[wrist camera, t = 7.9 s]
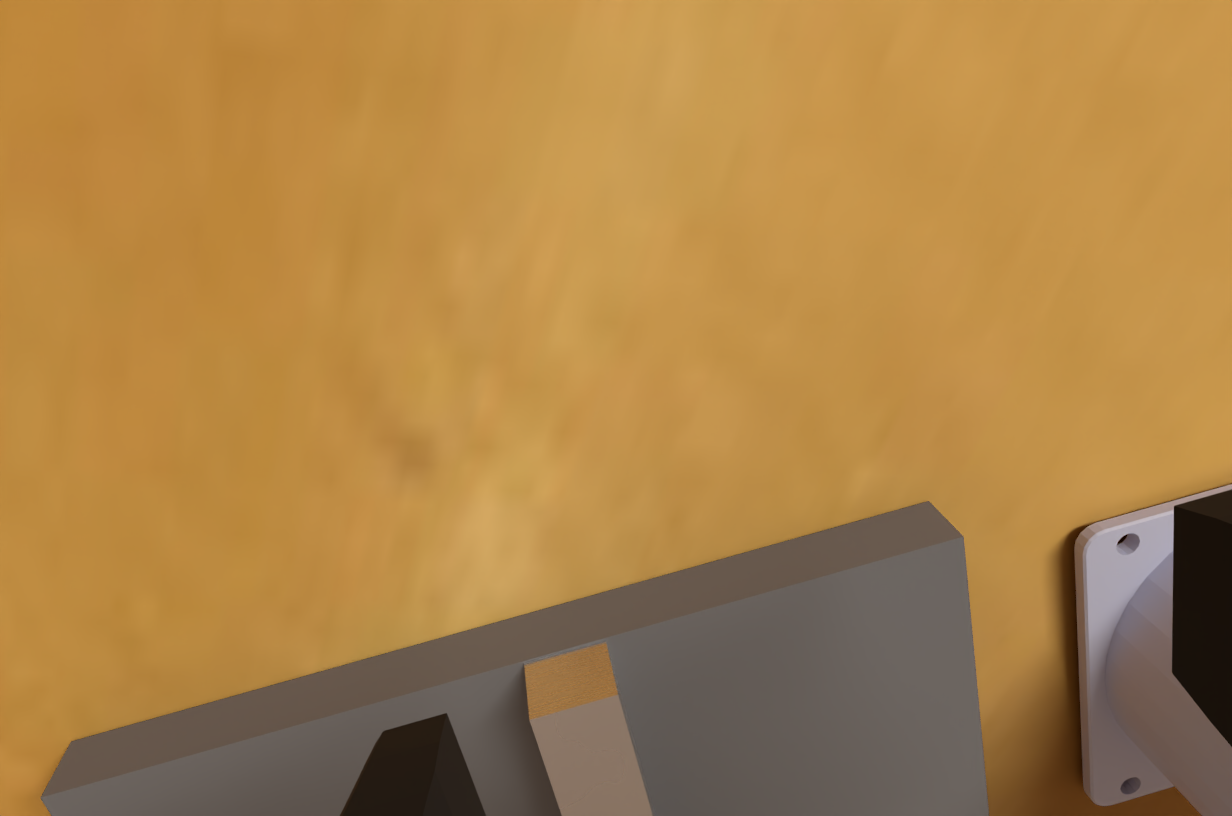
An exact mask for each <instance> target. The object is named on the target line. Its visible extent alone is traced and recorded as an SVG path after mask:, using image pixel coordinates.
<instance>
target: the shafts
mask: <svg viewBox="0 0 1232 816" xmlns="http://www.w3.org/2000/svg"><path fill="white" fill-rule="evenodd" d="M524 667H525V678H526V689H527V699H528V710H529V720H530V723H531V726H532V729H533V732H534V735H535V738H536V741H537V744H538V747H539V750H540V753H541V756H542V759H543V762H544V765H545V767H546V770H547V773H548V776H549V779H550V782H551V785H552V788H553V791H554V794H555V797H556V800H557V803H558V806H559V809H560V812H561V815H562V816H655V812H654V809H653V805H652V802H651V798H650V795H649V791H648V788H647V784H646V781H645V777H644V774H643V770H642V767H641V763H640V760H639V756H638V753H637V749H636V745H635V742H634V738H633V735H632V731H631V728H630V724H629V721H628V717H627V714H626V710H625V707H624V703H623V700H622V696H621V693H620V689H619V686H618V682H617V679H616V675H615V672H614V668H613V665H612V661H611V657H610V654H609V650H608V647H607V643H606V640H604V641H601V642H597V643H594V644H590V645H587V646H583V647H580V648H576V649H573V650H569V651H566V652H562V653H559V654H555V655H551V656H548V657H544V658H541V659H537V660H534V661H530V662H527V663H524Z"/></svg>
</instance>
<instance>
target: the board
mask: <svg viewBox="0 0 1232 816" xmlns="http://www.w3.org/2000/svg"><path fill="white" fill-rule="evenodd" d="M604 640H606V643H607V647H608V650H609V654H610V657H611V661H612V665H613V668H614V672H615V675H616V679H617V682H618V686H619V689H620V693H621V696H622V700H623V703H624V707H625V710H626V714H627V717H628V721H629V724H630V728H631V731H632V735H633V738H634V742H635V745H636V749H637V753H638V756H639V760H640V763H641V767H642V770H643V774H644V777H645V781H646V784H647V788H648V791H649V795H650V798H651V802H652V805H653V809H654V812H655V816H989V808H988V798H987V787H986V776H985V765H984V754H983V743H982V732H981V722H980V711H979V700H978V689H977V678H976V667H975V656H974V646H973V635H972V624H971V613H970V602H969V591H968V580H967V570H966V559H965V548H964V537H963V536H962V535H961V534H960V533H959V532H958V531H957V530H956V529H955V527H954V526H953V525H952V524H951V523H950V522H949V521H948V520H947V519H946V518H945V517H944V516H943V515H942V514H941V513H940V512H939V511H938V510H937V509H936V508H935V507H934V506H933V505H932V504H931V503H930V502H929V501H927V502H924V503H920V504H917V505H913V506H909V507H906V508H902V509H899V510H895V511H892V512H888V513H884V514H881V515H877V516H874V517H870V518H867V519H863V520H860V521H856V522H852V523H849V524H845V525H842V526H838V527H835V528H831V529H827V530H824V531H820V532H817V533H813V534H810V535H806V536H802V537H799V538H795V539H792V540H788V541H785V542H781V543H778V544H774V545H770V546H767V547H763V548H760V549H756V550H753V551H749V552H745V553H742V554H738V555H735V556H731V557H728V558H724V559H720V560H717V561H713V562H710V563H706V564H703V565H699V566H696V567H692V568H688V569H685V570H681V571H678V572H674V573H671V574H667V575H663V576H660V577H656V578H653V579H649V580H646V581H642V582H638V583H635V584H631V585H628V586H624V587H621V588H617V589H614V590H610V591H606V592H603V593H599V594H596V595H592V596H589V597H585V598H581V599H578V600H574V601H571V602H567V603H564V604H560V605H556V606H553V607H549V608H546V609H542V610H539V611H535V612H532V613H528V614H524V615H521V616H517V617H514V618H510V619H507V620H503V621H499V622H496V623H492V624H489V625H485V626H482V627H478V628H474V629H471V630H467V631H464V632H460V633H457V634H453V635H449V636H446V637H442V638H439V639H435V640H432V641H428V642H425V643H421V644H417V645H414V646H410V647H407V648H403V649H400V650H396V651H392V652H389V653H385V654H382V655H378V656H375V657H371V658H367V659H364V660H360V661H357V662H353V663H350V664H346V665H343V666H339V667H335V668H332V669H328V670H325V671H321V672H318V673H314V674H310V675H307V676H303V677H300V678H296V679H293V680H289V681H285V682H282V683H278V684H275V685H271V686H268V687H264V688H261V689H257V690H253V691H250V692H246V693H243V694H239V695H236V696H232V697H228V698H225V699H221V700H218V701H214V702H211V703H207V704H203V705H200V706H196V707H193V708H189V709H186V710H182V711H179V712H175V713H171V714H168V715H164V716H161V717H157V718H154V719H150V720H146V721H143V722H139V723H136V724H132V725H129V726H125V727H121V728H118V729H114V730H111V731H107V732H104V733H100V734H97V735H93V736H89V737H86V738H82V739H79V740H75V741H72V742H71V743H70V745H69V747H68V748H67V750H66V752H65V754H64V756H63V757H62V759H61V761H60V763H59V765H58V767H57V768H56V770H55V772H54V774H53V776H52V778H51V779H50V781H49V783H48V785H47V787H46V788H45V790H44V792H43V794H42V796H41V800H42V801H43V803H44V804H45V806H46V808H47V809H48V811H49V812H50V814H51V815H52V816H340V814H341V812H342V810H343V808H344V806H345V804H346V802H347V800H348V798H349V796H350V794H351V792H352V790H353V788H354V786H355V784H356V782H357V780H358V777H359V775H360V773H361V771H362V769H363V767H364V765H365V763H366V761H367V759H368V757H369V755H370V753H371V751H372V749H373V747H374V745H375V743H376V742H377V740H378V738H379V737H380V735H381V734H382V732H383V731H385V730H389V729H392V728H396V727H399V726H403V725H406V724H410V723H413V722H417V721H420V720H424V719H427V718H431V717H434V716H438V715H441V714H445V713H447V715H448V717H449V720H450V722H451V725H452V728H453V730H454V733H455V736H456V738H457V741H458V743H459V746H460V749H461V751H462V754H463V756H464V759H465V762H466V764H467V767H468V770H469V772H470V775H471V777H472V780H473V783H474V785H475V788H476V791H477V793H478V796H479V798H480V801H481V804H482V806H483V809H484V811H485V814H486V816H562V815H561V812H560V809H559V806H558V803H557V800H556V797H555V794H554V791H553V788H552V785H551V782H550V779H549V776H548V773H547V770H546V767H545V765H544V762H543V759H542V756H541V753H540V750H539V747H538V744H537V741H536V738H535V735H534V732H533V729H532V726H531V723H530V720H529V710H528V699H527V689H526V678H525V667H524V663H527V662H530V661H534V660H537V659H541V658H544V657H548V656H551V655H555V654H559V653H562V652H566V651H569V650H573V649H576V648H580V647H583V646H587V645H590V644H594V643H597V642H601V641H604Z"/></svg>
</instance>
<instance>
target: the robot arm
mask: <svg viewBox="0 0 1232 816" xmlns="http://www.w3.org/2000/svg"><path fill="white" fill-rule="evenodd" d="M1126 534H1127V537H1126V539H1125V540H1124V541H1123V542H1122V543H1120V544H1118V545H1117V543H1118V541H1119V540H1120V539H1121V537H1123V536H1124V535H1126ZM1074 553H1075V580H1076V607H1077V634H1078V660H1079V687H1080V714H1081V741H1082V767H1083V788H1084V791H1085V793H1086V794H1087V795H1088V797H1089V798H1090V799H1091V800H1092V801H1093V802H1094V803H1095V804H1096V805H1099V806H1110V805H1114V804H1117V803H1121V802H1124V801H1127V800H1131V799H1134V798H1137V797H1141V796H1144V795H1147V794H1151V793H1154V792H1157V791H1161V790H1164V789H1167V788H1171V787H1174V786H1175V787H1176V788H1177V790H1178V791H1179V792H1180V793H1181V794H1182V795H1183V796H1184V797H1185V798H1186V799H1187V800H1188V801H1189V802H1190V803H1191V805H1192V806H1193V807H1194V808H1195V809H1196V810H1197V811H1198V812H1199V813H1200V814H1201V815H1202V816H1232V484H1230V485H1227V486H1223V487H1220V488H1216V489H1213V490H1209V491H1206V492H1202V493H1199V494H1195V495H1192V496H1188V497H1185V498H1181V499H1177V500H1174V501H1170V502H1167V503H1163V504H1160V505H1156V506H1153V507H1149V508H1146V509H1142V510H1139V511H1135V512H1132V513H1128V514H1125V515H1121V516H1118V517H1114V518H1111V519H1107V520H1104V521H1100V522H1097V523H1094V524H1092V525H1090V526H1088V527H1086V528H1085V529H1084V530H1083V531H1082V532H1081V533H1080V534H1079V536H1078V538H1077V539H1076V542H1075V548H1074ZM340 816H486V814H485V811H484V809H483V806H482V804H481V801H480V798H479V796H478V793H477V791H476V788H475V785H474V783H473V780H472V777H471V775H470V772H469V770H468V767H467V764H466V762H465V759H464V756H463V754H462V751H461V749H460V746H459V743H458V741H457V738H456V736H455V733H454V730H453V728H452V725H451V722H450V720H449V717H448V715H447V713H445V714H441V715H438V716H434V717H431V718H427V719H424V720H420V721H417V722H413V723H410V724H406V725H403V726H399V727H396V728H392V729H389V730H385V731H383V732H382V734H381V735H380V737H379V738H378V740H377V742H376V743H375V745H374V747H373V749H372V751H371V753H370V755H369V757H368V759H367V761H366V763H365V765H364V767H363V769H362V771H361V773H360V775H359V777H358V780H357V782H356V784H355V786H354V788H353V790H352V792H351V794H350V796H349V798H348V800H347V802H346V804H345V806H344V808H343V810H342V812H341V814H340Z"/></svg>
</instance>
